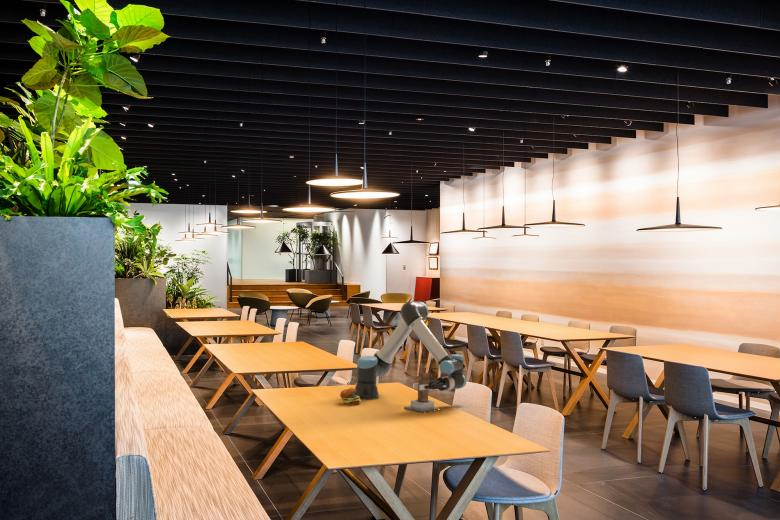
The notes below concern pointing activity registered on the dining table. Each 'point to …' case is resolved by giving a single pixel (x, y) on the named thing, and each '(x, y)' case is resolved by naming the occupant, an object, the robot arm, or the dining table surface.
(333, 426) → the dining table surface
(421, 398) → the walnut post
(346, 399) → the cheeseburger
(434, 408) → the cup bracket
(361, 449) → the dining table surface
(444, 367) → the robot arm
